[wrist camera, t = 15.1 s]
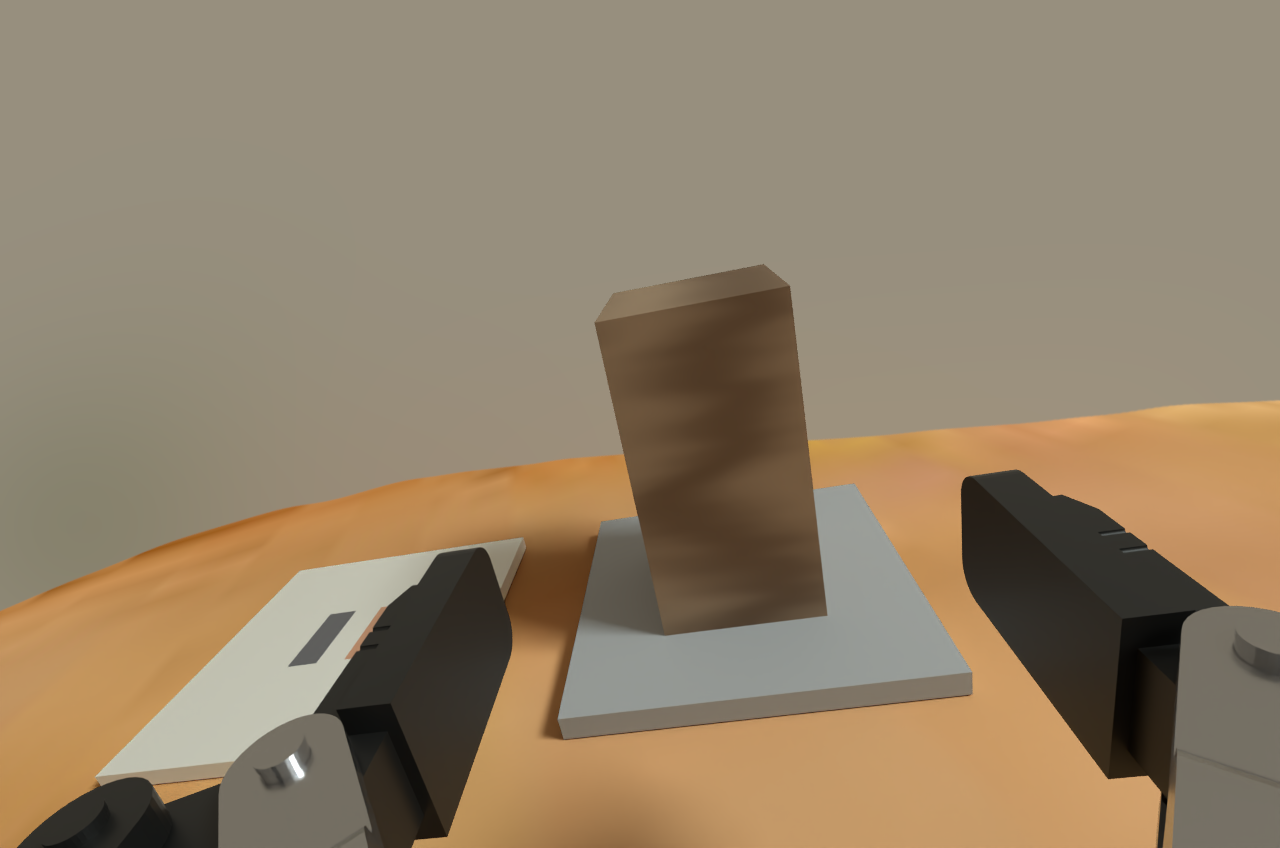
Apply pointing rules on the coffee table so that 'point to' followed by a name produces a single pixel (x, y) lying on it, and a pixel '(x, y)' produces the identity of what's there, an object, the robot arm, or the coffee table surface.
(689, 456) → the walnut block
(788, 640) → the grey mat
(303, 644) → the white tile
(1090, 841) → the coffee table surface
